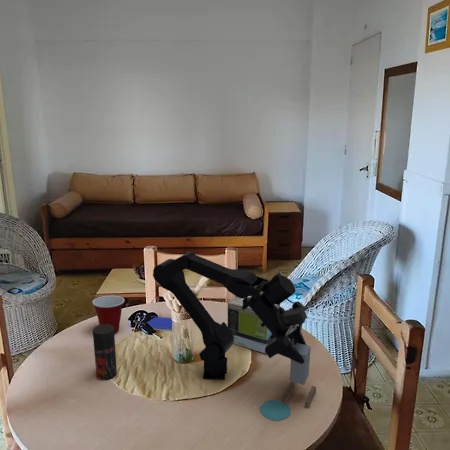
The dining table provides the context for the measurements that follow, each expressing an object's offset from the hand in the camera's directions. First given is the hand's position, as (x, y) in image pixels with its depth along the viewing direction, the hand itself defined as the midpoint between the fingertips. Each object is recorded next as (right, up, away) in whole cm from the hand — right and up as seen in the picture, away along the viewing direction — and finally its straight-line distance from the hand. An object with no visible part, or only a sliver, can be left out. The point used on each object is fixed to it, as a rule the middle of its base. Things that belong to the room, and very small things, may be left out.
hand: (305, 357), depth 123 cm
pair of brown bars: (-1, -12, +4) cm, 12 cm away
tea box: (-12, -4, +32) cm, 35 cm away
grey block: (-1, -6, +2) cm, 7 cm away
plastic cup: (-62, -2, +38) cm, 73 cm away
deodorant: (-57, -9, +13) cm, 59 cm away
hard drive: (-46, -1, +44) cm, 63 cm away
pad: (-8, -13, -2) cm, 16 cm away
